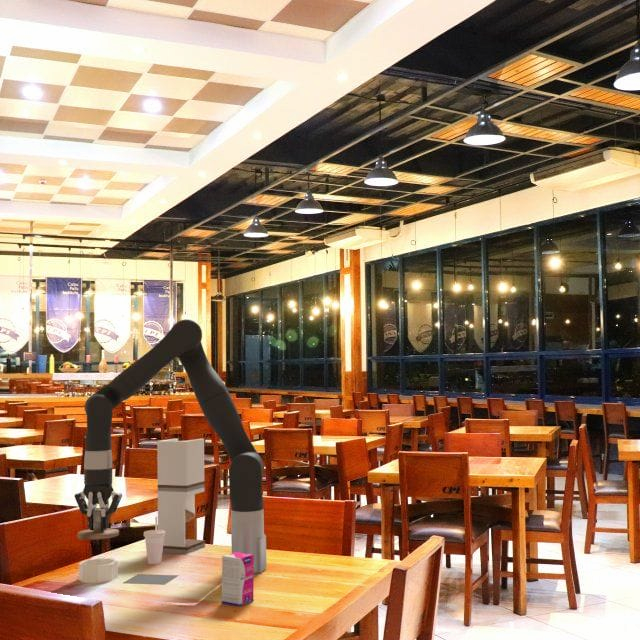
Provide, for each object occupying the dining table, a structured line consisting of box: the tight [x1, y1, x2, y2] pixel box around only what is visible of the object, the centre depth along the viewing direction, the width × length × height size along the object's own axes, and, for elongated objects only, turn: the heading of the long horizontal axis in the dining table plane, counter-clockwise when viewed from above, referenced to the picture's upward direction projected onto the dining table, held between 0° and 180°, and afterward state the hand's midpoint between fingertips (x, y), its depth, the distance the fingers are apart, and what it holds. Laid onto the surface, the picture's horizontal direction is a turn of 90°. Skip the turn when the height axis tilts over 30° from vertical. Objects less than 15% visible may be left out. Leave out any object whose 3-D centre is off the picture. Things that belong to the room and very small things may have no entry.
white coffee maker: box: [156, 437, 206, 555], centre depth 268 cm, size 11×11×35 cm
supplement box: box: [221, 552, 255, 607], centre depth 203 cm, size 6×6×12 cm
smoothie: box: [143, 516, 165, 565], centre depth 246 cm, size 6×6×14 cm
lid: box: [77, 508, 120, 541], centre depth 228 cm, size 11×11×7 cm
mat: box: [122, 573, 179, 586], centre depth 225 cm, size 12×10×1 cm
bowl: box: [78, 557, 119, 584], centre depth 227 cm, size 10×10×5 cm
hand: (98, 529), depth 228 cm, fingers closed on lid, 2 cm apart
